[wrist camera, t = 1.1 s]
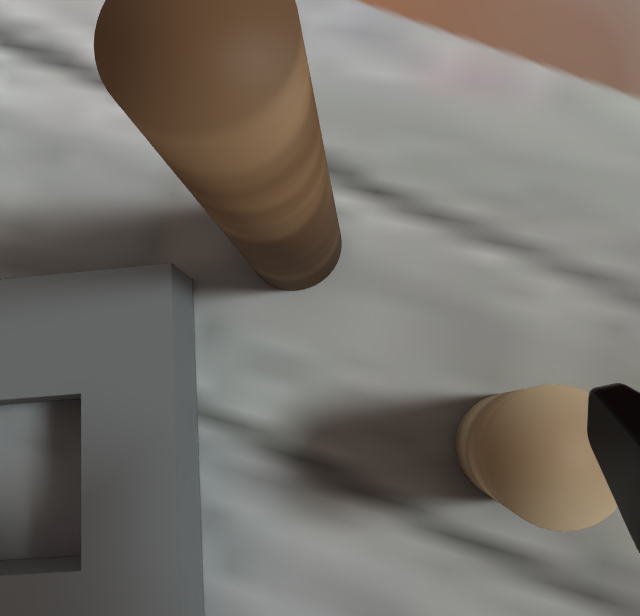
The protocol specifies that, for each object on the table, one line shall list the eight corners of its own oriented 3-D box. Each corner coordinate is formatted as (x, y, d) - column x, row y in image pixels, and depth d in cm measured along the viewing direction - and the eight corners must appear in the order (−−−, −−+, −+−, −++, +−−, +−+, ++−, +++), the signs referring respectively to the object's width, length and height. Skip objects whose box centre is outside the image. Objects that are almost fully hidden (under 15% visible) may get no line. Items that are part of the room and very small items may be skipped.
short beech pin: (568, 495, 21) (644, 527, 15) (461, 502, 21) (495, 535, 15) (553, 389, 21) (620, 378, 16) (450, 397, 22) (477, 390, 16)
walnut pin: (345, 285, 23) (306, 118, 10) (250, 294, 23) (94, 141, 10) (337, 194, 23) (291, -73, 11) (245, 204, 24) (93, -46, 11)
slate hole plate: (206, 678, 21) (183, 713, 18) (-125, 692, 22) (-188, 727, 19) (192, 279, 23) (171, 262, 21) (-103, 306, 24) (-156, 294, 22)
